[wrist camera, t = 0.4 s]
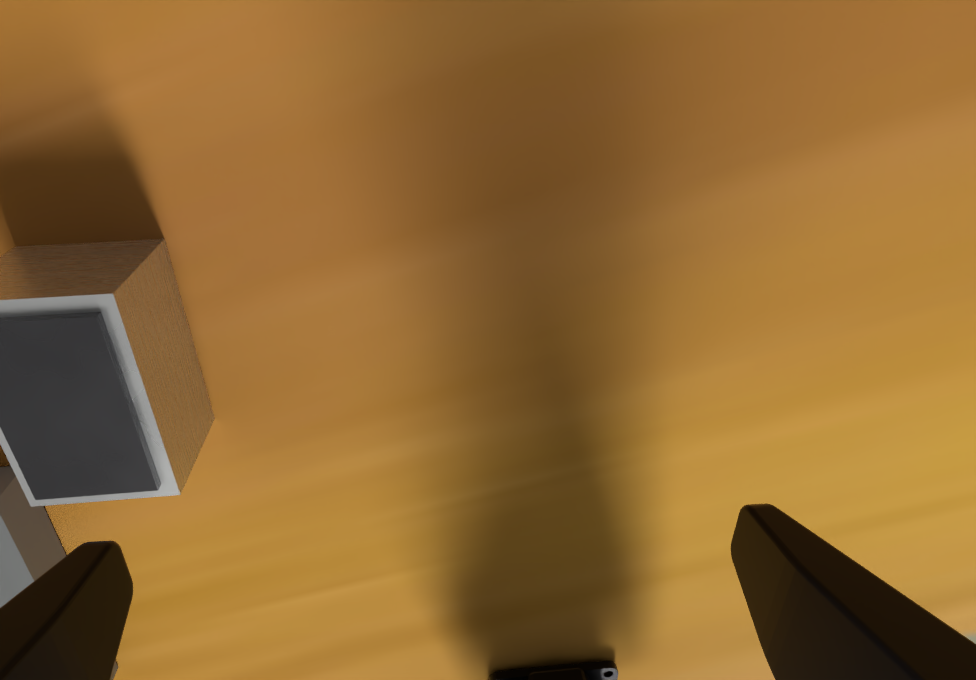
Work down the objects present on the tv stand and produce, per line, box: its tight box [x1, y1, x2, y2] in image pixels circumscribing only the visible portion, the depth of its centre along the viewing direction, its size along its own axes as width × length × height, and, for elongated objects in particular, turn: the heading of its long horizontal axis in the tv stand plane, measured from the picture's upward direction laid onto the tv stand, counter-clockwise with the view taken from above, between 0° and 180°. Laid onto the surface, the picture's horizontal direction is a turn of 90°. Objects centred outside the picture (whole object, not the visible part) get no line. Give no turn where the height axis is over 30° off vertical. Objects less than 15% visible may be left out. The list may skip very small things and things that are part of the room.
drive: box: [0, 239, 215, 507], centre depth 20 cm, size 7×4×4 cm, turn 1°
